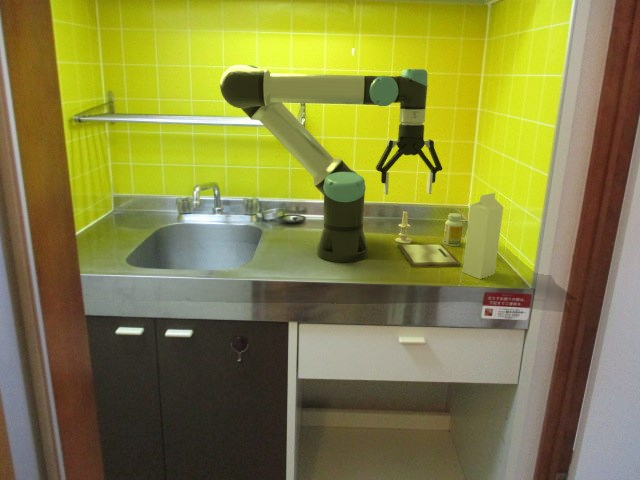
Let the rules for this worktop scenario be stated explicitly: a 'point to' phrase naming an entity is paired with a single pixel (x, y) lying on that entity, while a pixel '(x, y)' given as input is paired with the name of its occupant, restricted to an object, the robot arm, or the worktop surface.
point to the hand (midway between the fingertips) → (407, 193)
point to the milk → (483, 237)
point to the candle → (404, 230)
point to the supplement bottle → (453, 230)
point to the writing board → (428, 255)
